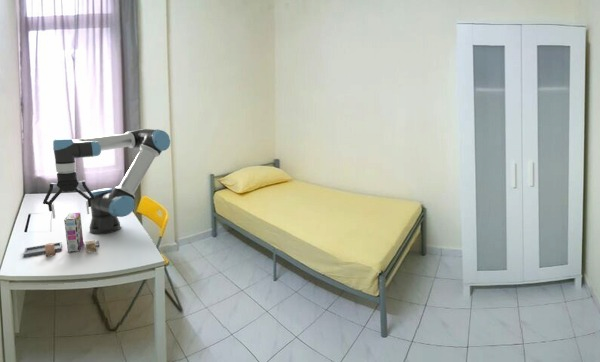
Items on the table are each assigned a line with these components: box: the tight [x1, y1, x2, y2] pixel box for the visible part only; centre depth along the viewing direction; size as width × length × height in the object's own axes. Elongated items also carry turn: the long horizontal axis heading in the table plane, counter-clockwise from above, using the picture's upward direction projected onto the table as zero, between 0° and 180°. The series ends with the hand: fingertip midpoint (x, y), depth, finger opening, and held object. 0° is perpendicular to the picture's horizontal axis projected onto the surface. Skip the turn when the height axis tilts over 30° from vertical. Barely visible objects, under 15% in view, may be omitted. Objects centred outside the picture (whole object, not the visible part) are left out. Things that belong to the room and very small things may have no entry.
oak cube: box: [85, 240, 97, 253], centre depth 163 cm, size 4×4×4 cm
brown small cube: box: [44, 242, 57, 257], centre depth 157 cm, size 4×4×5 cm
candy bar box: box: [63, 212, 84, 253], centre depth 164 cm, size 11×5×16 cm, turn 23°
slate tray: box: [23, 242, 63, 258], centre depth 162 cm, size 14×8×2 cm, turn 123°
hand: (71, 215), depth 162 cm, fingers open, 13 cm apart
